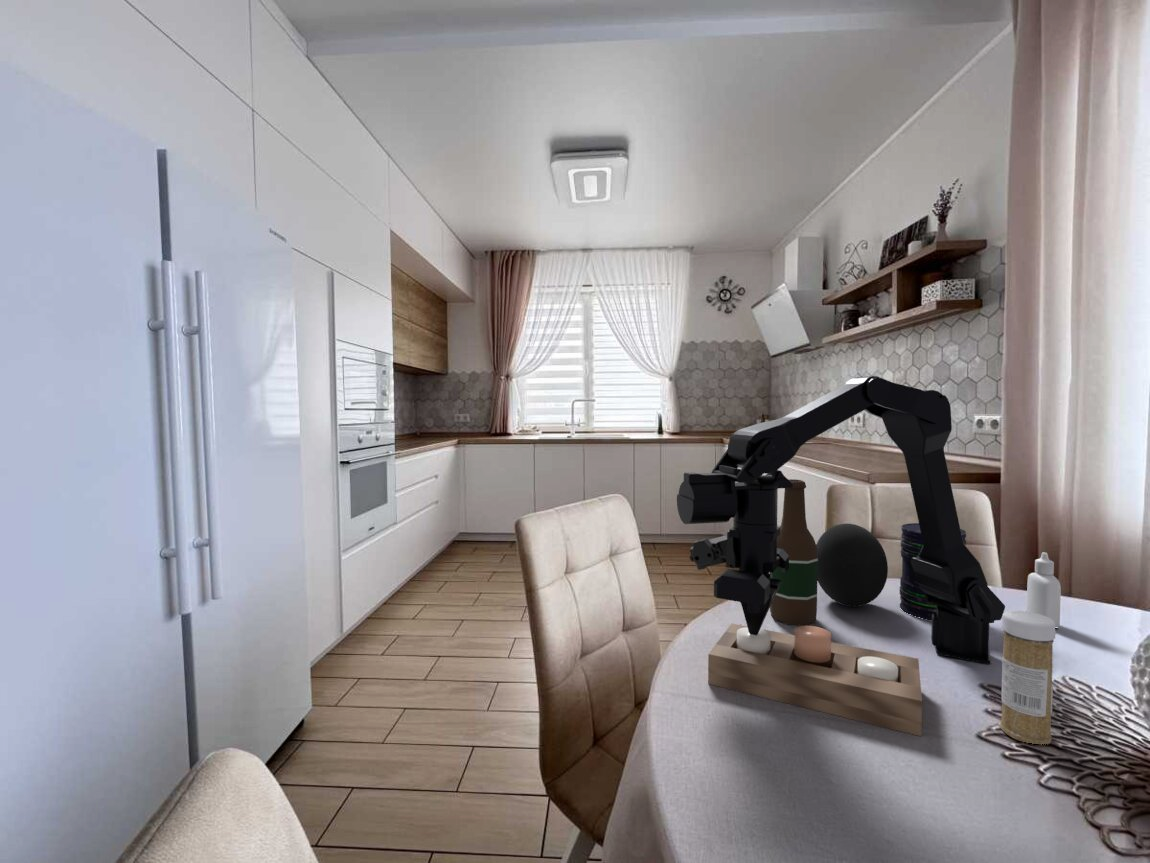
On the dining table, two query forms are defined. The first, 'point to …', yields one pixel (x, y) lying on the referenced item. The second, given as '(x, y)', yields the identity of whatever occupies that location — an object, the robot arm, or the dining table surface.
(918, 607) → the storage jar
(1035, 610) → the eye dropper bottle
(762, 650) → the knob
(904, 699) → the knob mount
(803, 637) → the middle knob
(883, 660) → the knob
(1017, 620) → the sprinkles bottle
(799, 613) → the beer bottle
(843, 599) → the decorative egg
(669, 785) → the dining table surface
